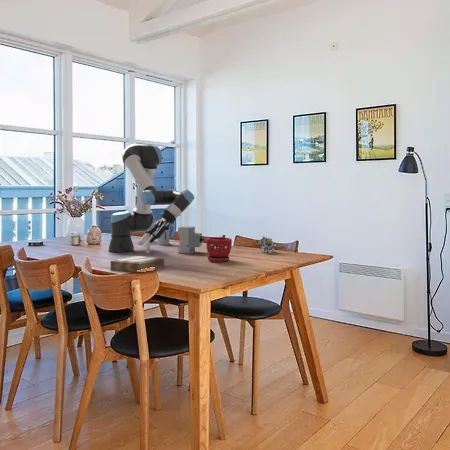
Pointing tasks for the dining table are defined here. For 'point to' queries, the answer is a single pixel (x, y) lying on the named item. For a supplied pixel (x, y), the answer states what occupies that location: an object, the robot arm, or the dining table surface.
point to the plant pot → (218, 248)
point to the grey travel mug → (165, 237)
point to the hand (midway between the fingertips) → (142, 245)
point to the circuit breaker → (189, 239)
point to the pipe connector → (145, 242)
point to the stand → (136, 263)
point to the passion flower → (266, 244)
